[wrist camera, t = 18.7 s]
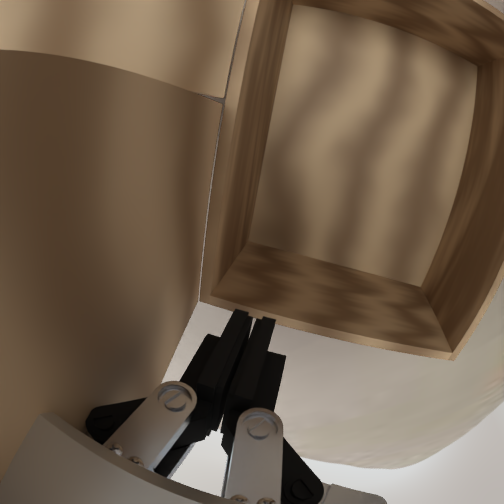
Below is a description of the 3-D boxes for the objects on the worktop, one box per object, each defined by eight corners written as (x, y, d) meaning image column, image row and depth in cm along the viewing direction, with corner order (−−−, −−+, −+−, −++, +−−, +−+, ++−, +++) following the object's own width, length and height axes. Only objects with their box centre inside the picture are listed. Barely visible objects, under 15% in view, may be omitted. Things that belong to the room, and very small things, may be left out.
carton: (479, 65, 16) (541, 45, 5) (421, 290, 28) (453, 360, 17) (287, 1, 19) (263, -63, 8) (242, 243, 31) (199, 301, 20)
